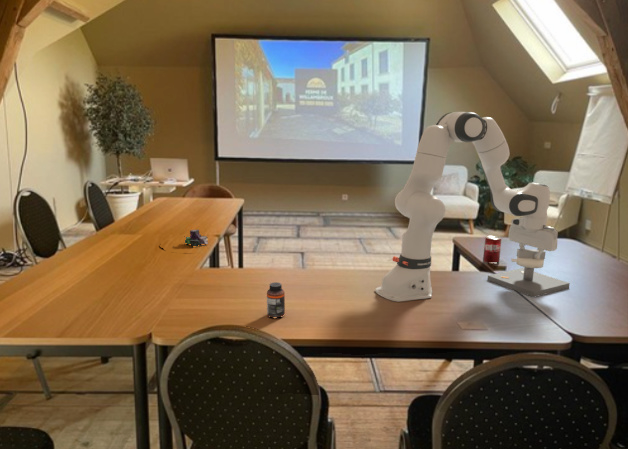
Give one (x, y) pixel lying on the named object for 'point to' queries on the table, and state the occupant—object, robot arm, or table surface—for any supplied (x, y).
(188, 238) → the mineral sample
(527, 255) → the cap
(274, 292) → the supplement bottle
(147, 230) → the table surface
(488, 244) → the soda can
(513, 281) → the lock base
